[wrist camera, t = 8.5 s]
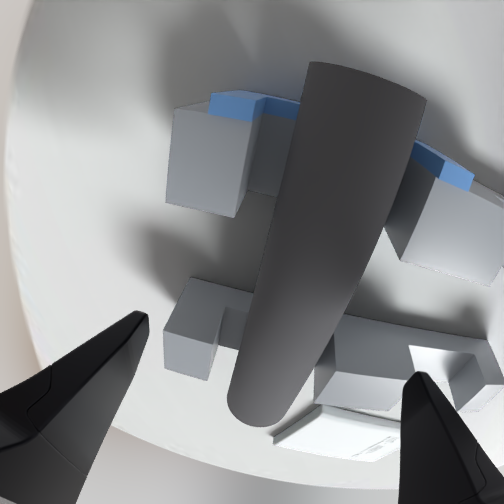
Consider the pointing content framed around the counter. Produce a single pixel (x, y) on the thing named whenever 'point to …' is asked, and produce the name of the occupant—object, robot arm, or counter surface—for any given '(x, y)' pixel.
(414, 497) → the robot arm
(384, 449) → the external hard drive
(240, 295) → the grey blocky pieces
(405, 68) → the counter surface
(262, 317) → the dark grey cylinder
